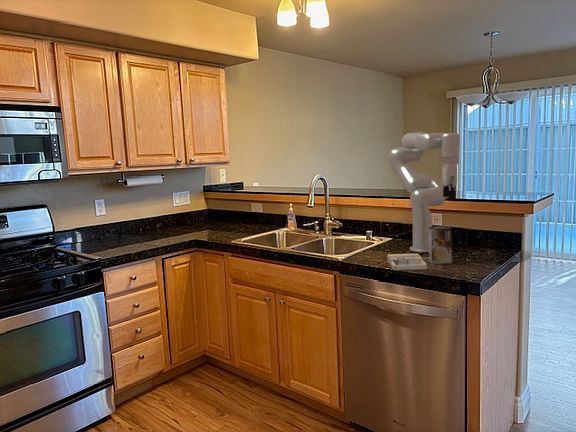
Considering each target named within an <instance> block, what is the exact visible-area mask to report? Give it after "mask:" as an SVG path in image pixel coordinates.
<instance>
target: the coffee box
mask: <svg viewBox="0 0 576 432" xmlns="http://www.w3.org/2000/svg"><path fill="white" fill-rule="evenodd" d="M452 233H453V232H452V228H451V227H450V226H432V227H429V252H428V261H429V262H430V263H431V265H435V264H436V265H437V264H440V265H441V264H453V238H452V237H453V234H452Z"/></svg>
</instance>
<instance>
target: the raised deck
mask: <svg viewBox="0 0 576 432" xmlns="http://www.w3.org/2000/svg"><path fill="white" fill-rule="evenodd" d="M397 258H406V259H407V258H416V260H417V264H421V260H423V259H424V258H423V257H422V256H421V255H420V254H419V252H416V253H394V254H392V253H391V254H389V253H388V254H387V263H388V264H389V265H390V266H391V261H393V262H394V263H395V265H397ZM423 261H424V260H423Z"/></svg>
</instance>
